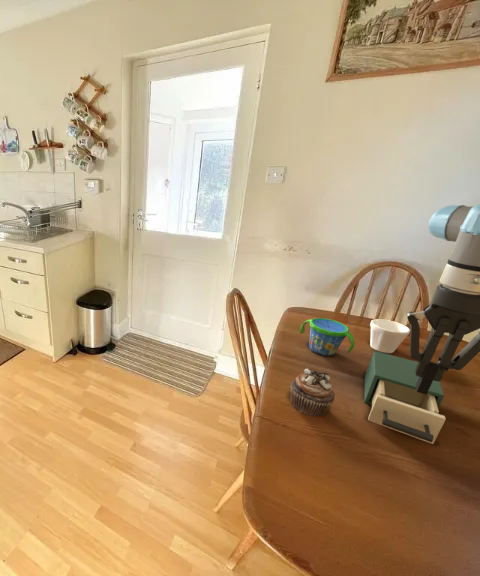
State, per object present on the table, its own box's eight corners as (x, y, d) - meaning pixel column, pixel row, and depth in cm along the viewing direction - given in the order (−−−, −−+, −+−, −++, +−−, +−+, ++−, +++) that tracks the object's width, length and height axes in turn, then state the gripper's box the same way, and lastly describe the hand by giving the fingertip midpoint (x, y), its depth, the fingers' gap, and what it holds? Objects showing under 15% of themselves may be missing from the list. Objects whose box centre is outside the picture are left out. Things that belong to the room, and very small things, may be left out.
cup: (404, 350, 107) (414, 327, 104) (395, 360, 102) (405, 335, 99) (368, 338, 115) (376, 316, 112) (358, 347, 110) (366, 323, 106)
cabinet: (429, 425, 77) (444, 395, 73) (364, 402, 84) (374, 374, 81) (422, 393, 87) (435, 366, 84) (364, 376, 95) (374, 350, 91)
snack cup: (355, 358, 103) (365, 331, 100) (336, 366, 99) (345, 339, 96) (308, 337, 117) (315, 312, 113) (290, 343, 112) (296, 318, 109)
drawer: (436, 459, 67) (450, 433, 64) (367, 433, 74) (377, 408, 71) (425, 410, 80) (436, 387, 77) (368, 391, 87) (376, 369, 84)
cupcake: (284, 390, 89) (291, 360, 86) (324, 398, 86) (333, 367, 82) (290, 413, 81) (298, 381, 77) (334, 423, 78) (345, 390, 74)
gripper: (420, 286, 60) (381, 386, 69) (528, 303, 52) (469, 413, 61) (416, 276, 66) (380, 370, 74) (513, 290, 58) (461, 393, 66)
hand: (420, 389), depth 68 cm, fingers closed
